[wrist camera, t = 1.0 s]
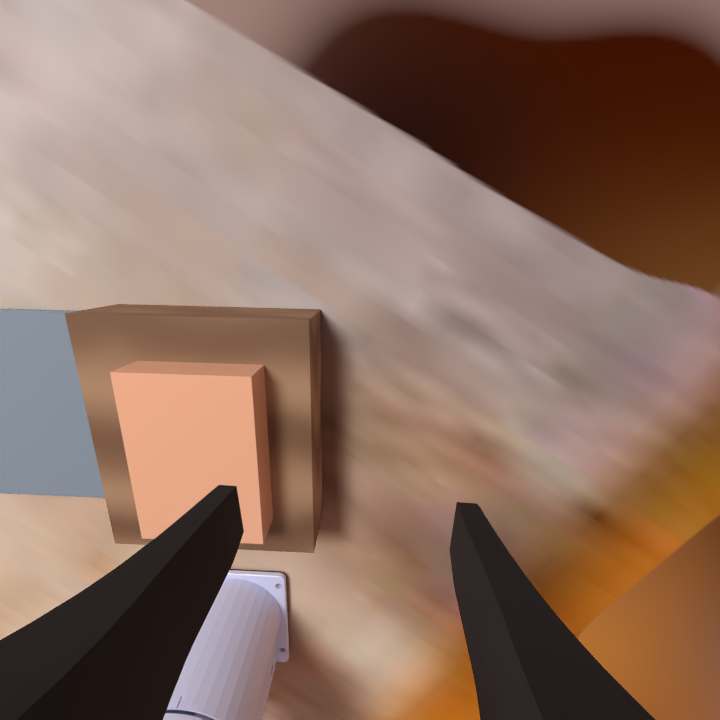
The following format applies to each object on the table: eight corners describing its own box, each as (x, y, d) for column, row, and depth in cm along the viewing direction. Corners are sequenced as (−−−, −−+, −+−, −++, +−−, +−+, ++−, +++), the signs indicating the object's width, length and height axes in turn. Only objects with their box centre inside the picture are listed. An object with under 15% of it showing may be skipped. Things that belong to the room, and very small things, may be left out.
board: (322, 509, 26) (313, 552, 22) (153, 501, 26) (115, 543, 22) (320, 309, 22) (308, 319, 18) (118, 304, 22) (64, 313, 18)
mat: (145, 496, 26) (142, 499, 26) (-20, 488, 26) (-25, 492, 26) (112, 311, 22) (107, 312, 22) (-81, 306, 22) (-89, 307, 22)
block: (273, 518, 21) (263, 544, 19) (162, 513, 21) (141, 538, 20) (263, 364, 18) (251, 376, 17) (137, 360, 19) (110, 372, 17)
